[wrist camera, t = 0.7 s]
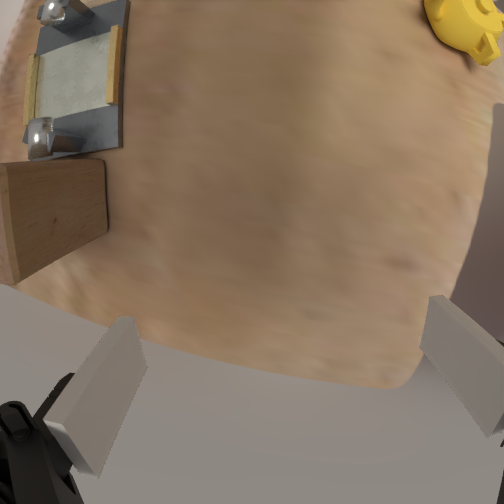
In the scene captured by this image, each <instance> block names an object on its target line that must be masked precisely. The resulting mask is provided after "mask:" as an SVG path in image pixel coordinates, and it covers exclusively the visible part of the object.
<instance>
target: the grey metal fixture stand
mask: <svg viewBox="0 0 504 504" xmlns="http://www.w3.org/2000/svg"><path fill="white" fill-rule="evenodd" d="M129 9H130V1H129V0H117V1H113V2H110V3H106V4H103V5H100V6H97V7H94V8H91V9H89V8H88V7H87V6H86V5H84V4H83V3H82V2H81V1H80V0H45V4H44V5H42V6H40V7H39V11H38V16H37V19H39V20H40V22H41V24H42V25H45V26H44V27H42V28H41V29H40V34H39V39H38V45H37V51H36V54H35V53H34V54H32V55H30V56H29V62H28V69H27V78H26V87H25V100H24V117H23V126H27V127H26V131H25V134H24V137H23V141H22V142H24V143H27V144H28V159H29V160H30V161H42V160H52V159H57V158H61V157H66V156H72V155H77V154H83V153H88V152H94V151H100V150H107V149H113V148H120V147H123V79H124V61H125V47H126V36H127V26H128V17H129Z"/></svg>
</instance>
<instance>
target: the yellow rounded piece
mask: <svg viewBox="0 0 504 504" xmlns="http://www.w3.org/2000/svg"><path fill="white" fill-rule="evenodd" d="M424 7H425V11H426V14H427V17H428V19H429V22H430V24H431V26H432V29H433V31H434V33H435V34H436V36H437V37H438V38H439V39H440V40H441V41H442V42H444V43H445V44H447V45H449V46H451V47H453V48H456V49H458V50H461V51H464V52H467V53H468V54H469V55H470V56H471V57H472V58H473V59H474V60H475V61H476V62H477V63H478V64H479V65H484V66H487V65H488V64H490V63H491V62H492V61H493V60H495V59H496V58H497V57H499V56H500V55H501V53H500V50H499V48H498V46H497V43H496V42H497V40H498V39H499V37H500V35H501V33H502V31H503V27H504V14H502V13H499V12H498V11H497V9H496V7H495V5H494V3H493V1H492V0H424Z"/></svg>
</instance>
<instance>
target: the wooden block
mask: <svg viewBox="0 0 504 504" xmlns="http://www.w3.org/2000/svg"><path fill="white" fill-rule="evenodd" d="M107 228H108V223H107V210H106V194H105V169H104V163H103V161H102V160H99V159H64V160H42V161H26V162H12V163H1V164H0V284H6V285H16V284H17V283H19V282H21V281H22V280H24V279H26V278H27V277H29V276H30V275H32V274H34V273H35V272H37V271H39V270H40V269H42V268H44V267H46V266H47V265H49V264H51V263H52V262H54V261H56V260H58V259H59V258H61V257H63V256H65V255H66V254H68V253H70V252H72V251H74V250H75V249H77V248H79V247H81V246H83V245H85V244H86V243H88V242H90V241H92V240H94V239H96V238H98V237H99V236H101V235H103V234H105V233H106V232H107Z"/></svg>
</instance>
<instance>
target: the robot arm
mask: <svg viewBox="0 0 504 504" xmlns="http://www.w3.org/2000/svg"><path fill="white" fill-rule="evenodd" d="M420 349H421V350H422V351H423V352H424V354H425V355H426V356H427V357H428V359H429V360H430V361H431V362H432V363H433V365H434V366H435V368H436V369H437V370H438V371H439V373H440V374H441V375H442V377H443V378H444V379H445V381H446V382H447V383H448V385H449V386H450V387H451V388H452V390H453V391H454V392H455V394H456V395H457V397H458V398H459V399H460V401H461V402H462V403H463V405H464V406H465V408H466V409H467V410H468V412H469V413H470V415H471V416H472V417H473V419H474V420H475V422H476V423H477V425H478V426H479V427H480V429H481V430H482V431H483V433H484V435H485V436H486V438H487V439H490V438H492V437H494V436H496V435H498V434H500V433H502V431H503V430H504V343H503V342H500V341H498V340H496V339H494V338H493V337H492V336H491V335H490V334H489V333H487V332H486V331H485V330H484V329H483V328H482V327H481V326H479V325H478V324H477V323H476V322H475V321H474V320H472V319H471V318H470V317H469V316H467V315H466V314H465V313H464V312H463V311H462V310H460V309H459V308H458V307H457V306H456V305H454V304H453V303H452V302H451V301H449V300H448V299H447V298H446V297H444V296H443V295H439V296H432V297H430V298H429V304H428V310H427V315H426V320H425V325H424V330H423V335H422V340H421V344H420ZM146 370H147V364H146V361H145V357H144V354H143V350H142V346H141V342H140V338H139V334H138V330H137V326H136V322H135V318H134V317H122V316H119V317H118V318H117V319H116V321H115V322H114V323H113V324H112V326H111V327H110V328H109V329H108V331H107V332H106V333H105V335H104V336H103V337H102V338H101V340H100V341H99V342H98V344H97V345H96V346H95V348H94V349H93V351H92V352H91V353H90V354H89V356H88V357H87V358H86V360H85V361H84V362H83V364H82V365H81V366H80V368H79V369H78V370H77V372H76V373H69V374H68V375H66V376H65V377H63V378H62V379H61V380H60V381H59V382H58V383H57V385H56V386H55V387H54V390H52V391H51V393H50V394H49V397H47V398H46V400H45V401H44V402H43V404H42V405H41V406H40V408H39V409H38V411H37V412H36V413H35V415H34V416H33V418H32V417H31V415H30V413H29V411H28V410H27V408H26V406H25V405H24V404H23V403H21V402H19V401H9V402H7V403H4V404H2V405H1V406H0V430H1V431H0V504H84V502H83V500H82V498H81V496H80V493H79V491H78V488H77V486H76V483H75V481H74V478H73V476H72V475H71V473H70V472H69V471H70V469H71V466H72V464H73V465H74V467H75V468H76V469H77V471H78V472H79V473H80V474H82V475H86V476H90V477H94V478H97V479H99V477H100V475H101V472H102V470H103V467H104V465H105V463H106V460H107V457H108V455H109V453H110V451H111V448H112V446H113V444H114V441H115V439H116V437H117V434H118V432H119V430H120V427H121V425H122V423H123V421H124V418H125V416H126V414H127V411H128V409H129V407H130V405H131V403H132V400H133V398H134V396H135V394H136V391H137V389H138V387H139V385H140V383H141V381H142V378H143V376H144V374H145V372H146ZM503 445H504V440H503V441H502V443H501V447H503ZM497 504H504V471H503V477H502V483H501V487H500V491H499V496H498V500H497Z"/></svg>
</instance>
